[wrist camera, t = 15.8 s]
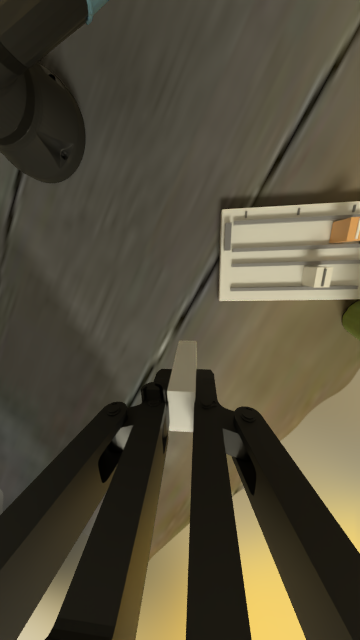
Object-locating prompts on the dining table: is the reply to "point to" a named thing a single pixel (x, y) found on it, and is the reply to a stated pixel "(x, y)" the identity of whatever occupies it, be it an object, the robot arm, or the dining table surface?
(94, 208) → the dining table surface
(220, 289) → the fader panel
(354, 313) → the plant pot
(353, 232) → the fader knob
